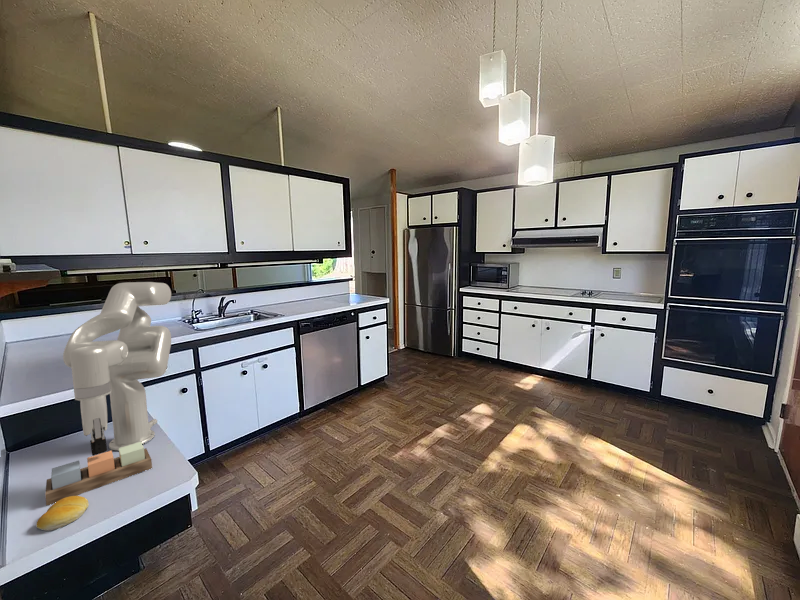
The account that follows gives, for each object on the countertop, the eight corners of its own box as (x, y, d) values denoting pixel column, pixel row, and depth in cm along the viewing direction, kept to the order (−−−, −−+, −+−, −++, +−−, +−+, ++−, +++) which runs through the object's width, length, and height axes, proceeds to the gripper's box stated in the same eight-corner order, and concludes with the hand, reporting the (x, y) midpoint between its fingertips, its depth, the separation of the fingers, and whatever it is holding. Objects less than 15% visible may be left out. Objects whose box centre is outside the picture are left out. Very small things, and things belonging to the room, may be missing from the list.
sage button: (142, 453, 105) (141, 441, 104) (145, 460, 101) (144, 447, 100) (119, 460, 101) (118, 448, 100) (122, 468, 97) (120, 455, 97)
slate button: (80, 473, 95) (79, 460, 94) (81, 481, 91) (79, 468, 91) (53, 482, 91) (51, 468, 91) (52, 491, 87) (51, 477, 87)
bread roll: (28, 536, 76) (26, 520, 75) (56, 509, 84) (54, 494, 84) (74, 527, 78) (72, 512, 78) (95, 502, 87) (94, 487, 86)
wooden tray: (147, 457, 107) (146, 448, 107) (152, 468, 101) (151, 459, 100) (47, 489, 92) (46, 479, 91) (46, 505, 85) (45, 495, 85)
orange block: (113, 463, 100) (111, 450, 99) (114, 470, 96) (113, 457, 96) (88, 471, 96) (87, 457, 96) (89, 479, 92) (87, 465, 92)
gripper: (73, 387, 96) (80, 448, 98) (74, 401, 86) (82, 469, 87) (108, 381, 101) (113, 438, 103) (113, 393, 91) (119, 457, 93)
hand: (99, 452), depth 95 cm, fingers closed
